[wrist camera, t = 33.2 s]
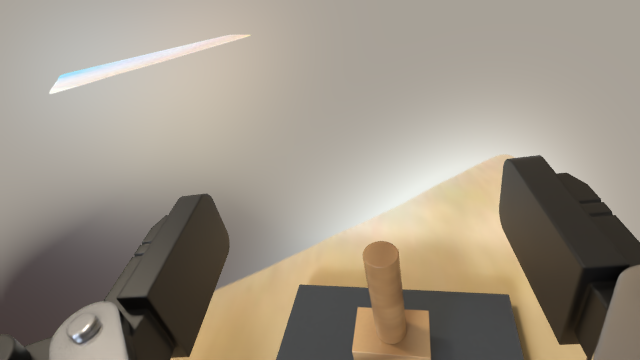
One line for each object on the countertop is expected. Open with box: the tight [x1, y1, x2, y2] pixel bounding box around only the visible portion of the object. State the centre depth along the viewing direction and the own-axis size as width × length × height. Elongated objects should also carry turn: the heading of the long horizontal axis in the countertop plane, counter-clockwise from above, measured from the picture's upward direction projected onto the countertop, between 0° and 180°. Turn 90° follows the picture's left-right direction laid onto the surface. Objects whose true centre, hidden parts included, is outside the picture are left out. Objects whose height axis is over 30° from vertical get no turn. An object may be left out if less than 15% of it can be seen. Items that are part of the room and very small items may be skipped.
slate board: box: [276, 285, 524, 360], centre depth 34 cm, size 22×14×2 cm, turn 78°
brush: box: [352, 241, 431, 360], centre depth 30 cm, size 6×4×13 cm
